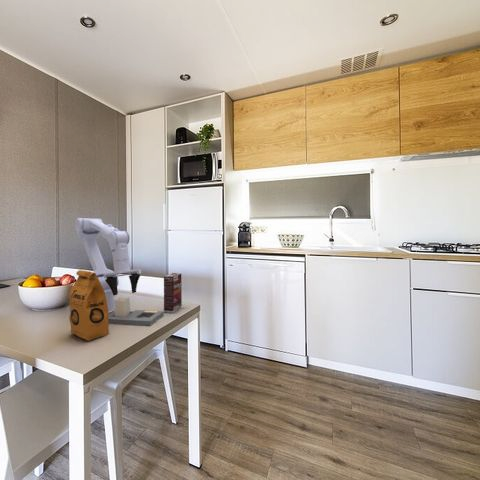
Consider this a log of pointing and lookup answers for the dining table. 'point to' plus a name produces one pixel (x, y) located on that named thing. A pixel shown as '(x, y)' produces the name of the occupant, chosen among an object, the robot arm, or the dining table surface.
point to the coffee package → (88, 307)
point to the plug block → (122, 307)
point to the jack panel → (136, 318)
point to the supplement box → (172, 292)
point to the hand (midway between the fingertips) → (124, 293)
